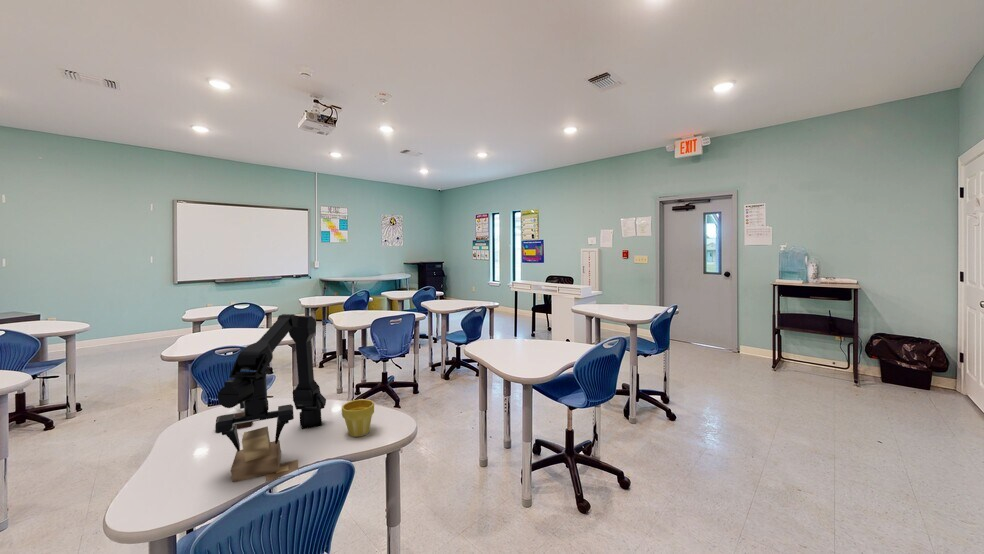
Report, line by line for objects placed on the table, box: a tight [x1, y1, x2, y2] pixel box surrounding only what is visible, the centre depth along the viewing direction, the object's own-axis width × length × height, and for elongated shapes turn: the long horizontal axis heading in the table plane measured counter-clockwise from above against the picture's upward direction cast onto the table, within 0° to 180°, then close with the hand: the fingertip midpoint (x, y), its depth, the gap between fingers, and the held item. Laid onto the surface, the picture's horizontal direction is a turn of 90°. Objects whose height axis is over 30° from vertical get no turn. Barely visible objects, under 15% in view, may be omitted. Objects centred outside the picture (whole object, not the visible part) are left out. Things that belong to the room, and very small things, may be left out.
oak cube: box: [241, 426, 271, 462], centre depth 113 cm, size 6×6×6 cm
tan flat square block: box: [230, 439, 282, 483], centre depth 114 cm, size 11×11×4 cm
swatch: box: [265, 459, 299, 482], centre depth 112 cm, size 8×8×1 cm
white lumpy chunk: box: [224, 404, 244, 415], centre depth 147 cm, size 6×8×12 cm
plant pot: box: [341, 398, 375, 438], centre depth 136 cm, size 10×10×10 cm
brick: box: [215, 412, 254, 430], centre depth 140 cm, size 11×4×5 cm, turn 119°
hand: (257, 447), depth 113 cm, fingers open, 9 cm apart
